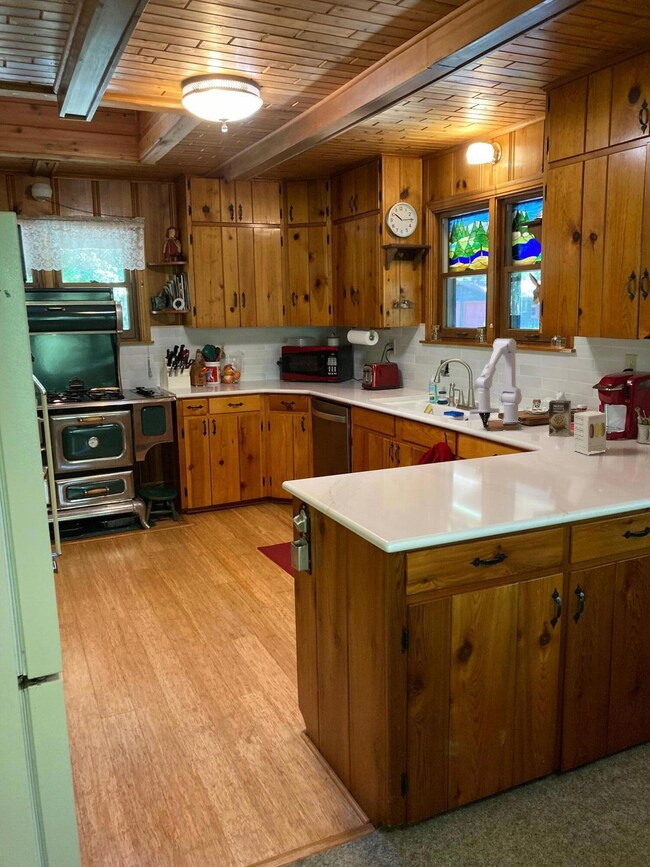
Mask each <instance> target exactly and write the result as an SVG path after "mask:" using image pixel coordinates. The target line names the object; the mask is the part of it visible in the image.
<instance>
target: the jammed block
mask: <svg viewBox="0 0 650 867" xmlns="http://www.w3.org/2000/svg"><path fill="white" fill-rule="evenodd" d="M487 424H488V427H502V426H503V424H504V421H503V419H488V422H487Z"/></svg>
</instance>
